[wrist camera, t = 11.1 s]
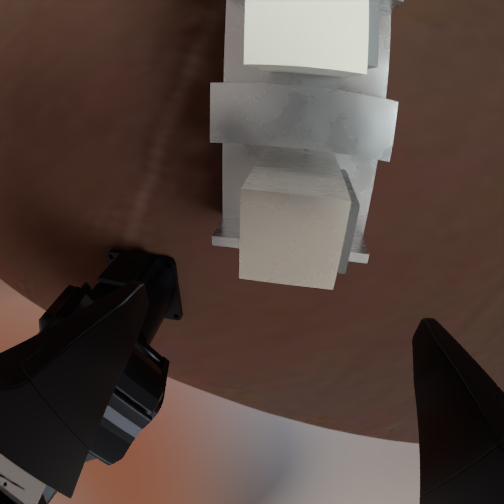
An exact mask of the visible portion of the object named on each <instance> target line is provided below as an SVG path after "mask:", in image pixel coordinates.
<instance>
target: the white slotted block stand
mask: <svg viewBox="0 0 504 504" xmlns="http://www.w3.org/2000/svg"><path fill="white" fill-rule="evenodd" d="M403 2H404V0H379V50H378V67H375V68H370V69H367V75H361V76H353V77H346V78H339V77H331V76H322V75H312V74H300V73H285V72H268V71H264V70H261V69H258V68H254V67H251V66H247V65H244V19H245V0H226V20H225V46H224V82H217V83H210V142H211V143H223V159H222V190H223V218H222V220H221V221H220V223H219V225H218V226H217V228H216V230H215V232H214V233H213V235H212V245H216V246H224V247H233V248H240V254H239V278H240V279H247V280H255V281H263V282H271V283H279V284H287V285H296V286H304V287H313V288H321V289H330V290H333V288H334V283H335V279H336V275H337V273H342V274H345V272H346V268H347V264H348V261H351V262H360V263H367V262H368V258H369V251H368V248H367V244H366V241H365V238H364V235H363V232H364V228H365V223H366V219H367V214H368V209H369V204H370V199H371V194H372V189H373V184H374V178H375V172H376V167H377V160H383V161H388V162H390V157H391V151H392V145H393V139H394V132H395V125H396V117H397V109H398V101H394V100H390V99H386V92H387V81H388V69H389V54H390V33H391V11H392V10H394V9H395V8H396V7H397V6H399V5H400V4H401V3H403Z"/></svg>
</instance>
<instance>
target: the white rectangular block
mask: <svg viewBox="0 0 504 504" xmlns="http://www.w3.org/2000/svg"><path fill="white" fill-rule="evenodd" d="M378 50H379V0H245V19H244V65H247V66H251V67H254V68H258V69H261V70H264V71H268V72H285V73H300V74H312V75H322V76H331V77H339V78H346V77H353V76H361V75H367V69H370V68H375V67H378Z"/></svg>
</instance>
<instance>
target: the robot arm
mask: <svg viewBox="0 0 504 504" xmlns="http://www.w3.org/2000/svg"><path fill="white" fill-rule="evenodd" d="M106 256H107V260H108V264H109V266H108V267H107V268H106V270H105V271H104V272H103V273H102V274H101V275H100V276H99V278H98V279H97V281H98V283H97V284H96V285H95V287H94V288H93V289H91V287H90V286H89V284H88V283H87V282H85V283H84V284H83V285H82V286H81V287H80V288H79V287H74V286H71V285H69V286H68V287H67V288H66V289H65V290H64V291H63V292H62V294H61V295H60V296H59V297H58V298H57V299H56V300H55V301H54V303H53V304H52V305H51V306H50V307H49V308H48V310H47V311H46V312H45V313H44V314H43V316H42V317H41V318H40V319H39V328H40V331H39V333H38V334H37V335H35V336H33V337H32V338H30V339H28V340H26V341H24V342H22V343H20V344H18V345H16V346H14V347H12V348H10V349H8V350H6V351H4V352H2V353H0V504H48V503H49V502H50V501H51V499H52V498H53V496H54V495H55V494H56V492H57V491H58V492H59V493H61V494H63V495H65V496H67V497H69V498H71V497H72V495H73V492H74V489H75V487H76V484H77V481H78V478H79V476H80V473H81V470H82V468H83V465H84V463H85V462H86V461H90V460H93V459H96V458H97V459H99V460H100V461H102V462H104V463H106V464H108V465H111V464H113V463H115V462H117V461H119V460H120V459H122V458H123V457H124V455H125V453H126V452H127V450H128V448H129V446H130V445H131V443H132V442H133V440H134V439H135V438H136V436H137V435H138V434H139V433H140V431H141V430H142V429H143V428H144V427H145V426H146V425H147V424H149V423H150V422H151V421H152V419H153V418H154V417H155V416H156V414H157V413H158V411H159V410H160V408H161V405H162V403H163V399H164V393H165V386H166V379H167V373H168V367H169V360H167V359H166V358H165V357H162V356H161V355H160V354H159V353H158V352H156V351H155V350H154V349H153V348H152V347H151V346H150V344H151V342H152V340H153V338H154V336H155V334H156V332H157V330H158V329H159V327H160V325H161V323H162V321H163V319H164V318H168V319H173V320H180V319H181V318H182V316H183V313H182V306H181V299H180V292H179V285H178V277H177V269H176V263H175V261H174V259H172V258H170V257H163V256H155V255H148V254H144V253H137V252H130V251H119V250H109V251H108V252H107V254H106ZM168 263H170V264H171V265H169V264H168ZM176 314H177V315H176ZM412 347H413V372H414V389H415V397H416V407H417V418H418V431H419V447H420V504H504V392H503V391H502V390H501V389H500V388H499V387H497V384H496V383H495V382H494V381H493V380H492V379H491V378H490V376H489V375H488V374H487V373H486V372H485V371H484V370H483V369H482V368H481V366H480V365H479V364H478V363H477V362H476V361H475V360H474V359H473V358H472V357H471V356H470V355H469V353H468V352H467V351H466V350H465V349H464V348H463V347H462V346H461V345H460V344H459V343H458V342H457V341H456V340H455V339H454V338H453V337H452V336H451V335H450V334H449V333H448V332H447V331H446V330H445V329H444V328H443V327H442V326H441V325H440V324H439V323H438V322H437V321H436V320H435V319H433V318H423V319H422V320H421V322H420V324H419V326H418V328H417V330H416V332H415V334H414V336H413V340H412Z"/></svg>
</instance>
